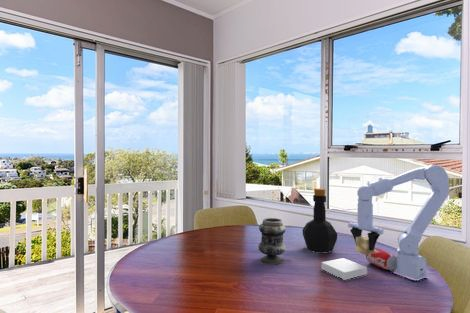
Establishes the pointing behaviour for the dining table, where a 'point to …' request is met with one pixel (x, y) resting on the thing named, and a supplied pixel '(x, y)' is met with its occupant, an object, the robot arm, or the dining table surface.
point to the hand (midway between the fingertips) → (364, 248)
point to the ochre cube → (363, 245)
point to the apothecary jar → (272, 240)
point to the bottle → (319, 227)
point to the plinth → (344, 268)
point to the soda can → (383, 259)
